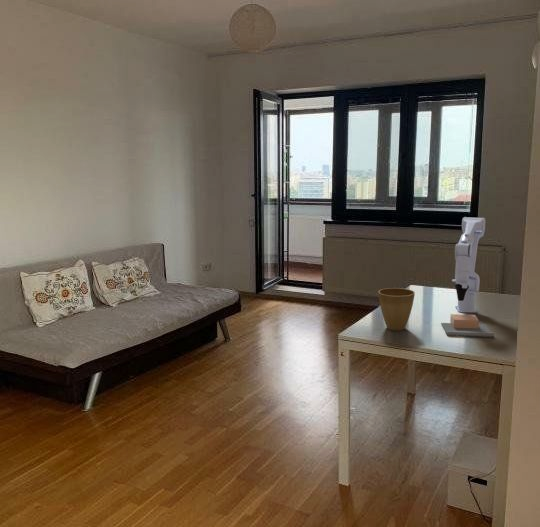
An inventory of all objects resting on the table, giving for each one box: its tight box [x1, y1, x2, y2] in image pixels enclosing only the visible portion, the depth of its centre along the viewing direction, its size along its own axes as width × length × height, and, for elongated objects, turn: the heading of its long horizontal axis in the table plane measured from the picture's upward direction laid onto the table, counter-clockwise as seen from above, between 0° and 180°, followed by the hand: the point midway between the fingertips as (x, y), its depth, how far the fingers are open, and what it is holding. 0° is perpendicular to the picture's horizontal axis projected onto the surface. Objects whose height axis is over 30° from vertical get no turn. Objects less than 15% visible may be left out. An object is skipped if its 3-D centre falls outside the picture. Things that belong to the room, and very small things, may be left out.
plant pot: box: [378, 287, 416, 332], centre depth 229 cm, size 15×15×16 cm
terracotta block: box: [449, 313, 480, 329], centre depth 230 cm, size 4×10×8 cm
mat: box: [440, 322, 495, 339], centre depth 226 cm, size 16×18×2 cm
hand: (460, 300), depth 239 cm, fingers closed
